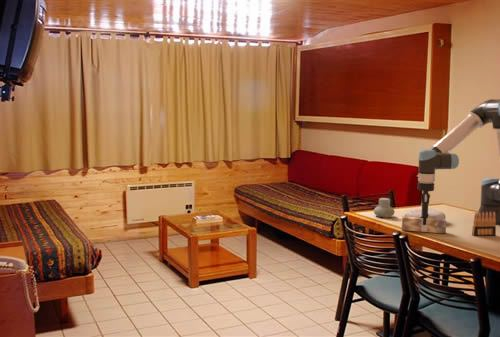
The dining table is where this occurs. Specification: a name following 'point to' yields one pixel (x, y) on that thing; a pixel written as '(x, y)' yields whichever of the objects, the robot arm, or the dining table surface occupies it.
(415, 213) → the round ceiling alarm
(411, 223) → the mottled beige block
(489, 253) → the dining table surface
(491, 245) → the dining table surface
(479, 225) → the ammunition clip
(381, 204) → the air freshener
